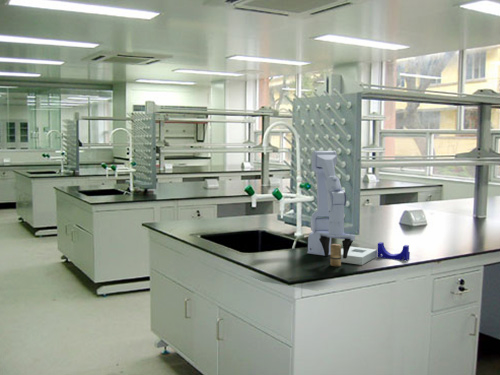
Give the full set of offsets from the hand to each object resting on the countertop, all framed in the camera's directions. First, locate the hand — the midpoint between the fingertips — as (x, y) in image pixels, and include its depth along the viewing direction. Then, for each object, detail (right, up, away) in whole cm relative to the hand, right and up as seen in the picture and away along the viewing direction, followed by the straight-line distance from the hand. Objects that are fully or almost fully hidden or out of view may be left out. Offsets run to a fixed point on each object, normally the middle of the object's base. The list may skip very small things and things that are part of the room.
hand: (335, 256), depth 194 cm
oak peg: (0, -3, 0) cm, 3 cm away
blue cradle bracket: (+26, -3, +13) cm, 29 cm away
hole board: (+10, -2, +11) cm, 15 cm away
